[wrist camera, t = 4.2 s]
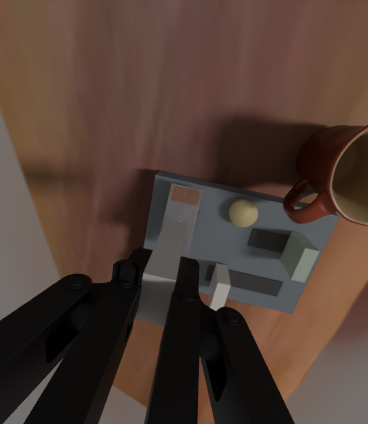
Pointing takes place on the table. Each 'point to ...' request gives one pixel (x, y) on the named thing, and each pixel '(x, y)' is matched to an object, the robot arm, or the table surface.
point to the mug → (332, 176)
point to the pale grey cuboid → (219, 287)
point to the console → (241, 239)
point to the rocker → (183, 211)
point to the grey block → (298, 257)
